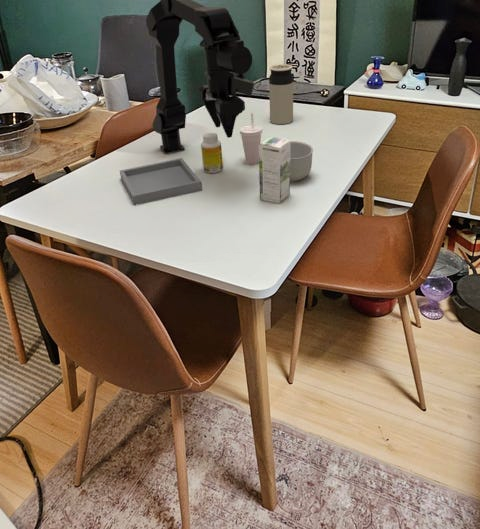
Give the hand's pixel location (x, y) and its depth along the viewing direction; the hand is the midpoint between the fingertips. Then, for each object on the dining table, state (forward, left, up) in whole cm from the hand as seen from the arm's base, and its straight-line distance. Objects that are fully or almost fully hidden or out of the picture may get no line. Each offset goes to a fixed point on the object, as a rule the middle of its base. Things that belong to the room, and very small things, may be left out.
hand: (223, 132), depth 126 cm
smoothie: (-8, +11, -13) cm, 19 cm away
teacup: (+6, +15, -13) cm, 21 cm away
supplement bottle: (-8, -1, -13) cm, 16 cm away
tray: (-6, -17, -13) cm, 23 cm away
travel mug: (-36, +34, -13) cm, 51 cm away
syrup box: (+16, +7, -13) cm, 22 cm away
